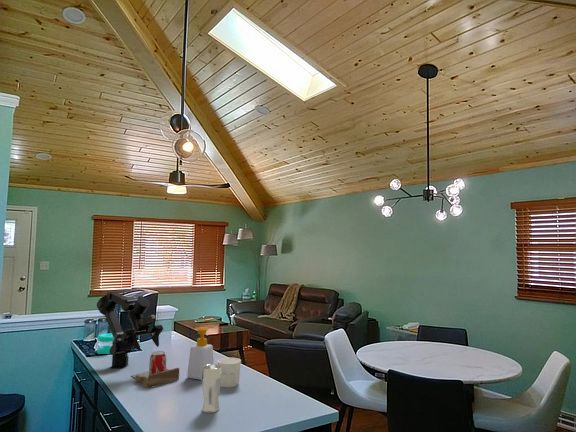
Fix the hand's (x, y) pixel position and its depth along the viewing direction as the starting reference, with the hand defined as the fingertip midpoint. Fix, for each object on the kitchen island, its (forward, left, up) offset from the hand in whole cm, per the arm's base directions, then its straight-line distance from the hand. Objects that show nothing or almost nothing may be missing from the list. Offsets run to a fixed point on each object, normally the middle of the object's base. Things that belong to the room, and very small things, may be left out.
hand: (149, 348), depth 180 cm
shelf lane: (+6, -5, -13) cm, 15 cm away
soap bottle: (+25, +3, -13) cm, 28 cm away
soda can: (+6, -5, -13) cm, 15 cm away
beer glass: (+35, -37, -13) cm, 52 cm away
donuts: (-37, +44, -13) cm, 59 cm away
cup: (+38, -9, -13) cm, 41 cm away
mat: (-2, +2, -13) cm, 13 cm away
